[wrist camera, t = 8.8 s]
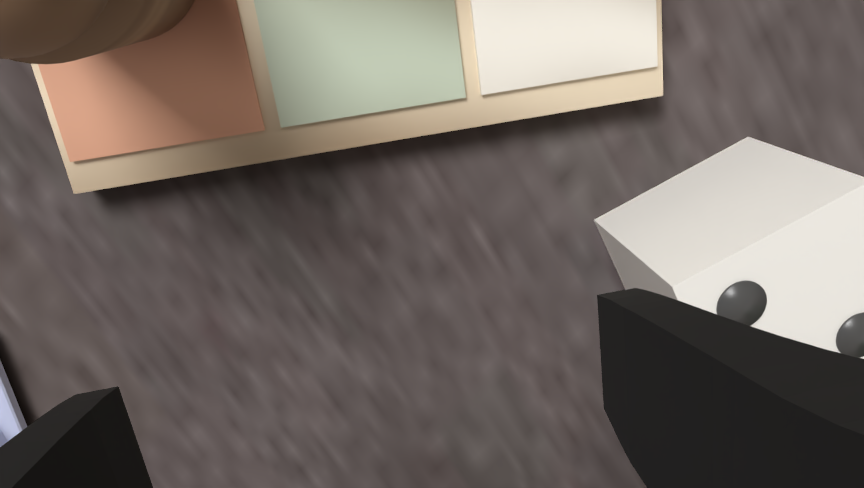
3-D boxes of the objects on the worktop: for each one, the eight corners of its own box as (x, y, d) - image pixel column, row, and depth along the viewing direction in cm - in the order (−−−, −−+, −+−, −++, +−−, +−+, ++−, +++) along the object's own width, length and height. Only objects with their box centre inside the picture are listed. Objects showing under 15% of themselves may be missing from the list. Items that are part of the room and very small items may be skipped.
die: (793, 274, 22) (920, 351, 18) (652, 349, 22) (740, 445, 18) (746, 136, 20) (874, 180, 16) (592, 219, 21) (673, 287, 16)
